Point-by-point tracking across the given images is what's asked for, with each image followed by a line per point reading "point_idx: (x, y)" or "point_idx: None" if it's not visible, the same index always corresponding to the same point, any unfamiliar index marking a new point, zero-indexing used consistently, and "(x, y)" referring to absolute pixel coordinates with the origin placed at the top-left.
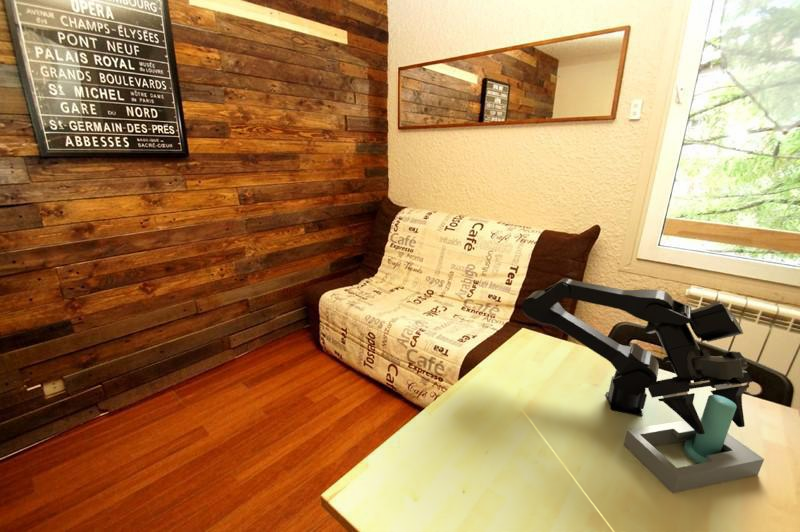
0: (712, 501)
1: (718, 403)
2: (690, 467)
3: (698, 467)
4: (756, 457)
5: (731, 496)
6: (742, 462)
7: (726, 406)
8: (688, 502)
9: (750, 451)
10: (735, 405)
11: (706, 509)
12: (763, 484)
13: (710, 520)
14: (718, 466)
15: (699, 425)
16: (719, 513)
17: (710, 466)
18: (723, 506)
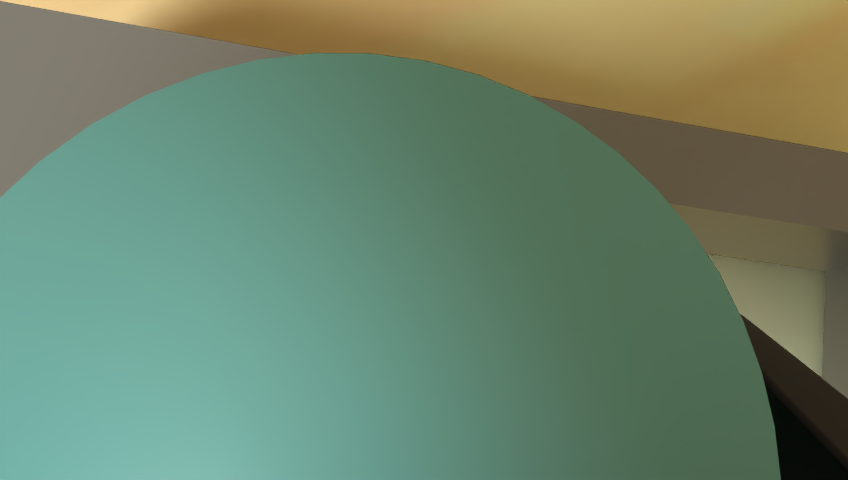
0: (669, 82)
1: (616, 464)
2: (845, 211)
3: (776, 185)
4: (49, 43)
5: (498, 55)
6: None
7: (519, 242)
8: (829, 138)
9: (2, 117)
10: (85, 162)
11: (765, 62)
12: (118, 19)
13: (813, 8)
14: (585, 124)
15: (816, 387)
16: (713, 13)
17: (658, 152)
18: (636, 32)
